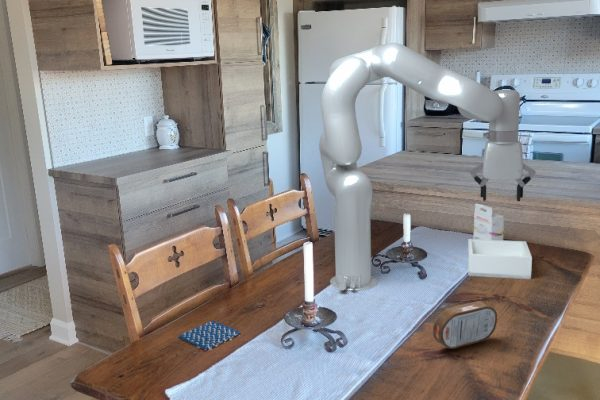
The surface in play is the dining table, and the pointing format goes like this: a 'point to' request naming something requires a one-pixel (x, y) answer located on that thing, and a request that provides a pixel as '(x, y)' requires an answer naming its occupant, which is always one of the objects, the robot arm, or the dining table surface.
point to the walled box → (499, 259)
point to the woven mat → (209, 335)
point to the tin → (465, 324)
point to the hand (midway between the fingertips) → (501, 199)
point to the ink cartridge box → (487, 224)
